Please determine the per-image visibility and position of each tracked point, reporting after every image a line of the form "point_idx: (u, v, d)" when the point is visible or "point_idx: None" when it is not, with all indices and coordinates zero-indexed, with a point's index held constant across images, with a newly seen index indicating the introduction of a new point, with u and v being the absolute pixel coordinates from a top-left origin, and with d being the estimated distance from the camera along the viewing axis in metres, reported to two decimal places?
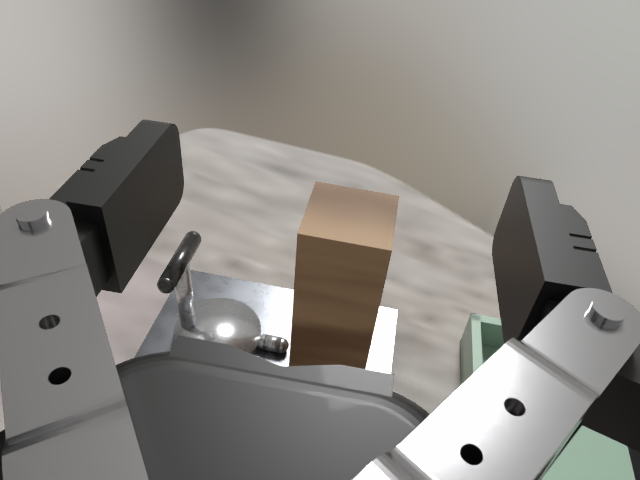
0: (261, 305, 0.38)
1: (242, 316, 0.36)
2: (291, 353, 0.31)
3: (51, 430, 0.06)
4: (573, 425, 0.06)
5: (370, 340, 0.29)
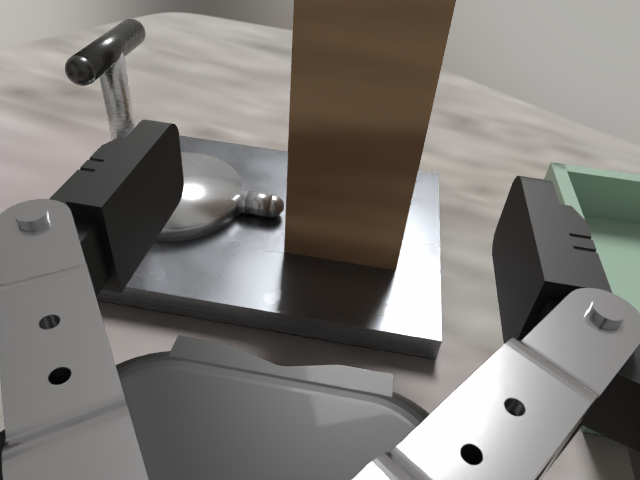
0: (243, 167, 0.26)
1: (214, 172, 0.24)
2: (289, 193, 0.20)
3: (51, 430, 0.06)
4: (573, 425, 0.06)
5: (420, 150, 0.18)
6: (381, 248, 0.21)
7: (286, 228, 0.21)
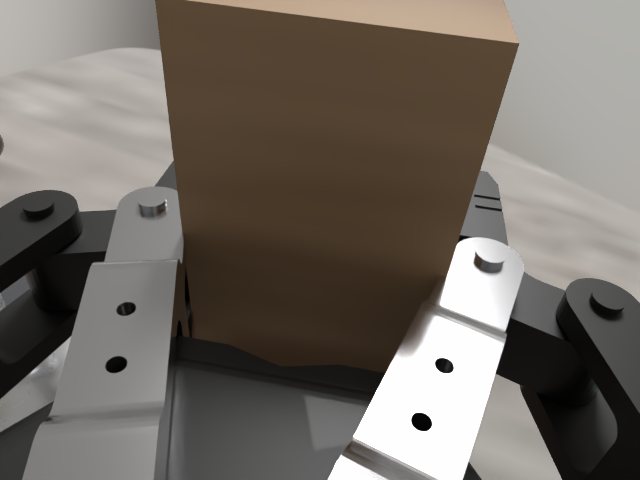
0: None
1: None
2: None
3: (88, 417, 0.06)
4: (495, 367, 0.07)
5: None
6: None
7: None
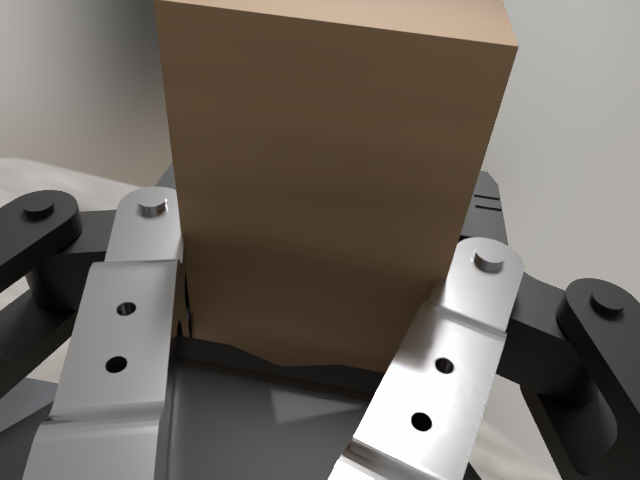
0: None
1: None
2: None
3: (88, 418, 0.06)
4: (496, 367, 0.07)
5: None
6: None
7: None
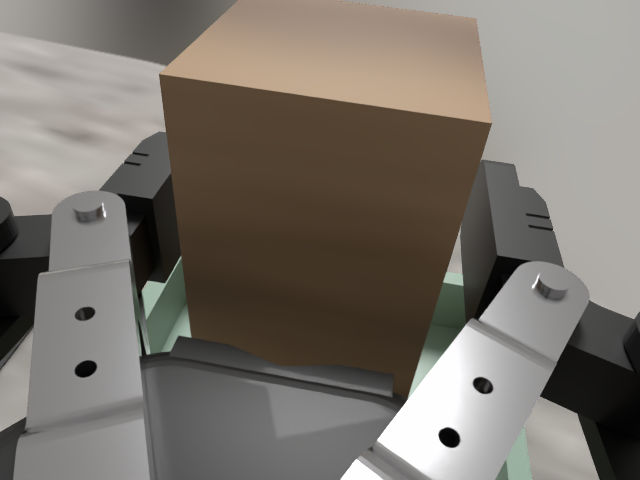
0: None
1: None
2: None
3: (68, 423, 0.06)
4: (538, 395, 0.07)
5: None
6: None
7: None
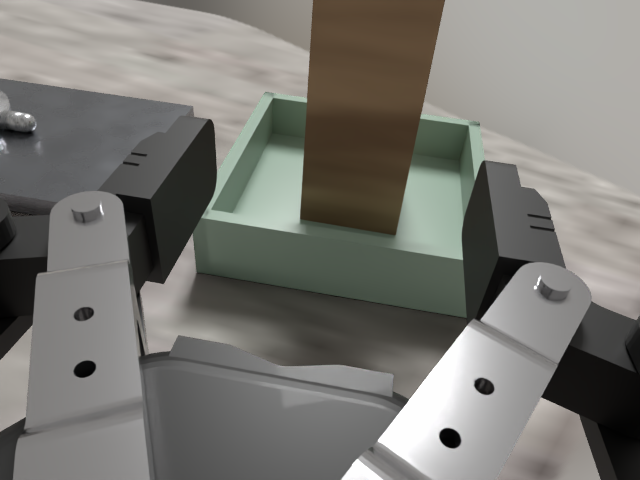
0: (26, 98, 0.32)
1: None
2: (305, 167, 0.23)
3: (67, 423, 0.06)
4: (539, 396, 0.06)
5: (415, 129, 0.21)
6: (383, 216, 0.24)
7: (302, 198, 0.24)
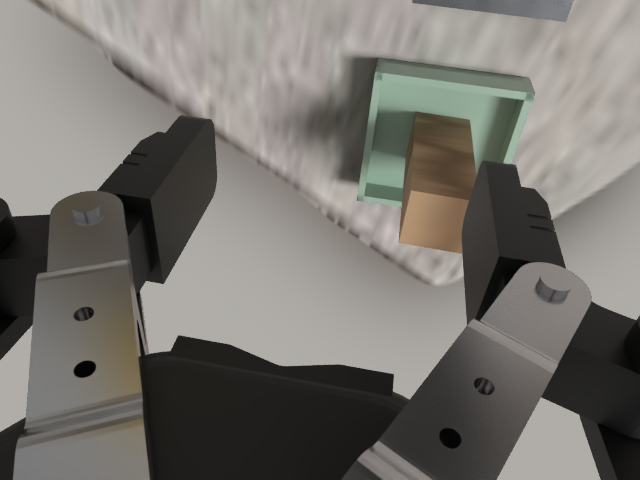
0: None
1: None
2: (414, 128, 0.42)
3: (67, 424, 0.06)
4: (539, 396, 0.06)
5: None
6: (406, 156, 0.46)
7: (415, 118, 0.44)
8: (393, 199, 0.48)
